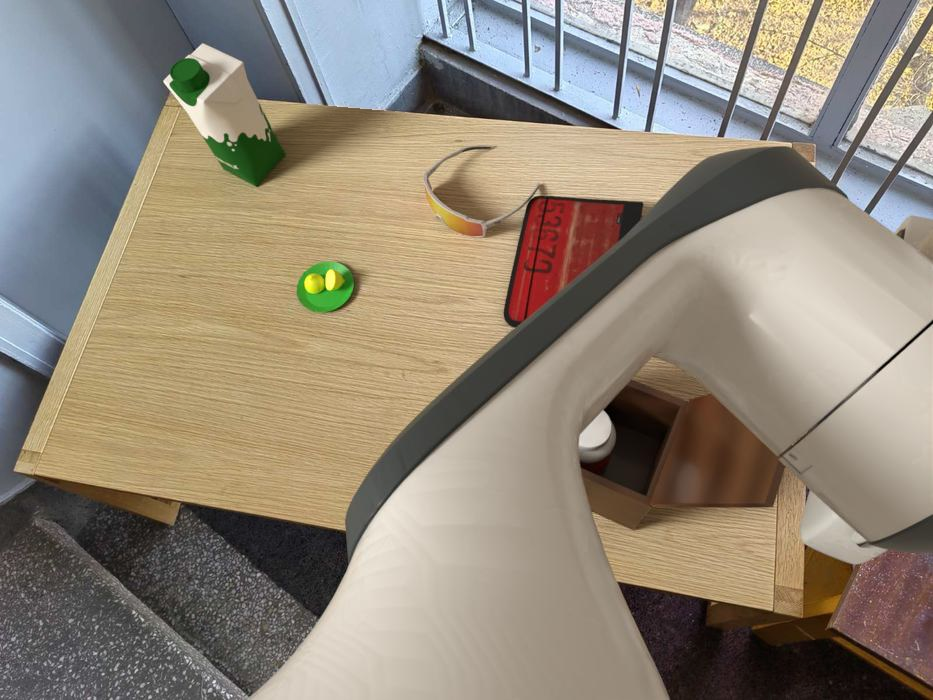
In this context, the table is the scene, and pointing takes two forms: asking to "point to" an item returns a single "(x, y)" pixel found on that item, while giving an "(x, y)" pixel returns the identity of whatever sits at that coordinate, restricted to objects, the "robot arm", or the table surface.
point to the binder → (562, 246)
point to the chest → (634, 453)
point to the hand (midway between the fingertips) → (833, 433)
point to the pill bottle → (597, 444)
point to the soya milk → (226, 112)
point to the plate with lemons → (325, 286)
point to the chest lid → (717, 462)
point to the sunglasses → (455, 219)
